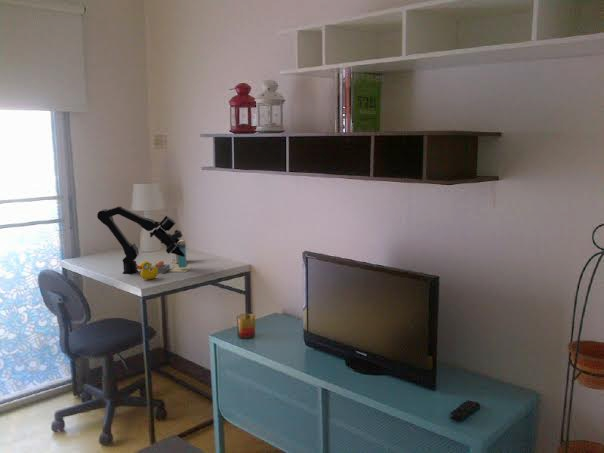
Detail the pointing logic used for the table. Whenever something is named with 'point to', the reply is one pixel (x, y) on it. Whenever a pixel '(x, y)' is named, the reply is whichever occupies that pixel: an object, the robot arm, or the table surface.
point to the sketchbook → (179, 269)
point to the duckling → (147, 270)
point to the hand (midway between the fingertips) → (184, 255)
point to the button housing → (162, 268)
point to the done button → (159, 263)
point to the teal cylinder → (182, 259)
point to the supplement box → (175, 257)
